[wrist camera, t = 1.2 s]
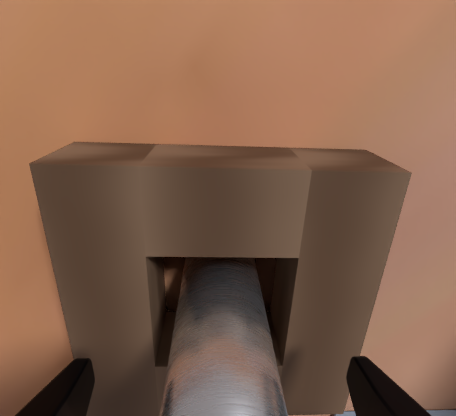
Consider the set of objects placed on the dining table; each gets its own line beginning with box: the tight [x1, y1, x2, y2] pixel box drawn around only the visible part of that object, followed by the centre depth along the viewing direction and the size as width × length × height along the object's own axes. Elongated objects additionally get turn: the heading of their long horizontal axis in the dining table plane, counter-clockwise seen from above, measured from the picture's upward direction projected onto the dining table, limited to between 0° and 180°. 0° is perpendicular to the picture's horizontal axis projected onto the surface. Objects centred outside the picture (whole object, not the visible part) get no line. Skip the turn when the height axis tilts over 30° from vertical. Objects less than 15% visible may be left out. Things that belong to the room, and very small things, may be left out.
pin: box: [159, 257, 288, 416], centre depth 9 cm, size 3×3×10 cm
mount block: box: [29, 142, 411, 416], centre depth 12 cm, size 11×11×3 cm
